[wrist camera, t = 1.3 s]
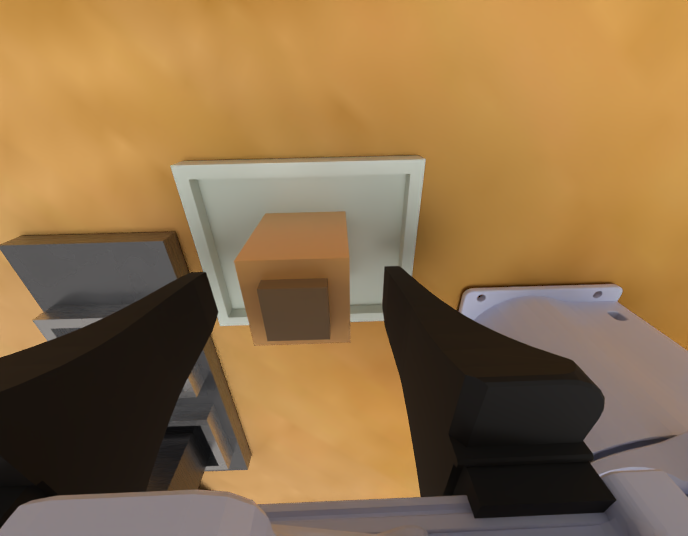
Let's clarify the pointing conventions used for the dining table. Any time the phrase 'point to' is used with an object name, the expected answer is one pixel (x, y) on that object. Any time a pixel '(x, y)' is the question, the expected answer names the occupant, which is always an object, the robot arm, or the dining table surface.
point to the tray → (304, 196)
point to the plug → (297, 279)
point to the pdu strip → (115, 294)
